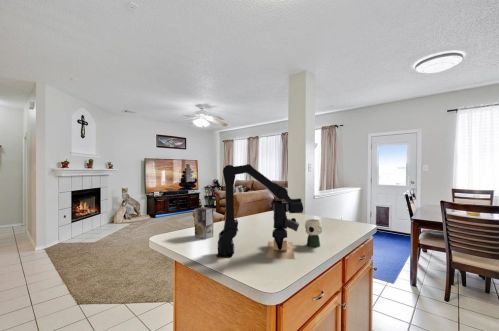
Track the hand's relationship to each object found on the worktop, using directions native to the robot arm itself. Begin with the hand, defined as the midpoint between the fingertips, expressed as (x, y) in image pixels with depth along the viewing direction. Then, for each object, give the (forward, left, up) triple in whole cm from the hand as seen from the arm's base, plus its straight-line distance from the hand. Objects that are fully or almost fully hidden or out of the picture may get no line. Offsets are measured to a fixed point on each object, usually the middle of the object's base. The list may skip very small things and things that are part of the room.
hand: (280, 247), depth 103 cm
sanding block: (0, 0, 0) cm, 0 cm away
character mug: (+16, +9, -2) cm, 18 cm away
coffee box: (-43, +20, -2) cm, 47 cm away
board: (0, +1, -2) cm, 2 cm away
